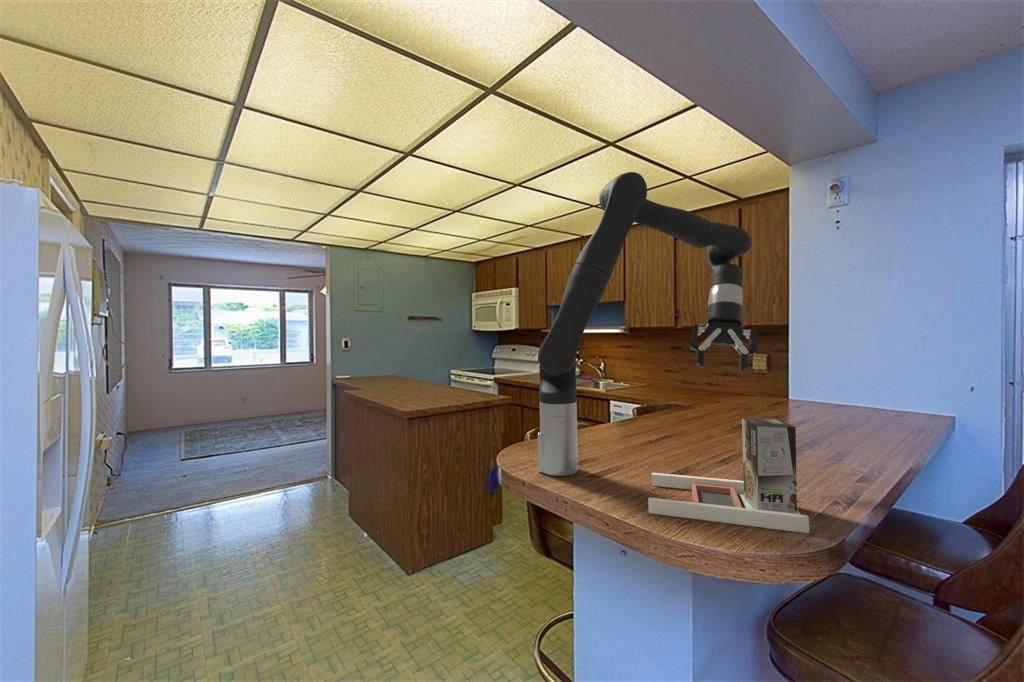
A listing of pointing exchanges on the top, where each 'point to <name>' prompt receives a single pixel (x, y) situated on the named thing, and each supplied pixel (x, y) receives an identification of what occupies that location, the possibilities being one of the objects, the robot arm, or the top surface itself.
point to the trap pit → (715, 495)
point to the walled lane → (720, 506)
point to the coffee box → (769, 464)
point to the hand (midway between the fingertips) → (721, 369)
